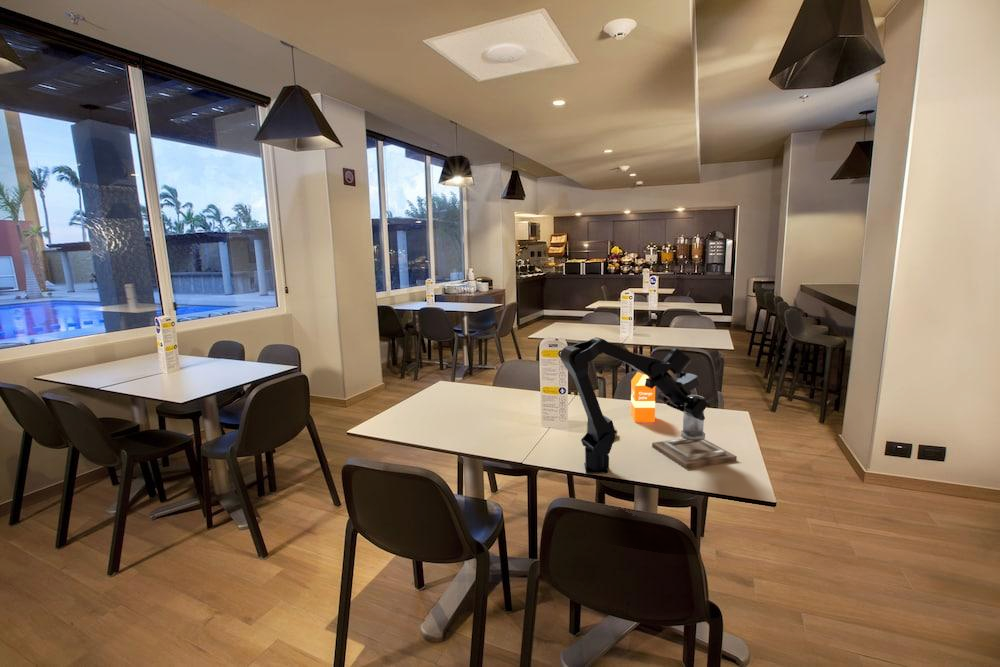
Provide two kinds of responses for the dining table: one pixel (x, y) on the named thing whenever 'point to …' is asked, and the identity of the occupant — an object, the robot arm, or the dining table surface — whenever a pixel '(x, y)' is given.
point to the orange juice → (642, 399)
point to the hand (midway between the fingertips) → (697, 416)
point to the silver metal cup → (692, 426)
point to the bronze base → (693, 452)
